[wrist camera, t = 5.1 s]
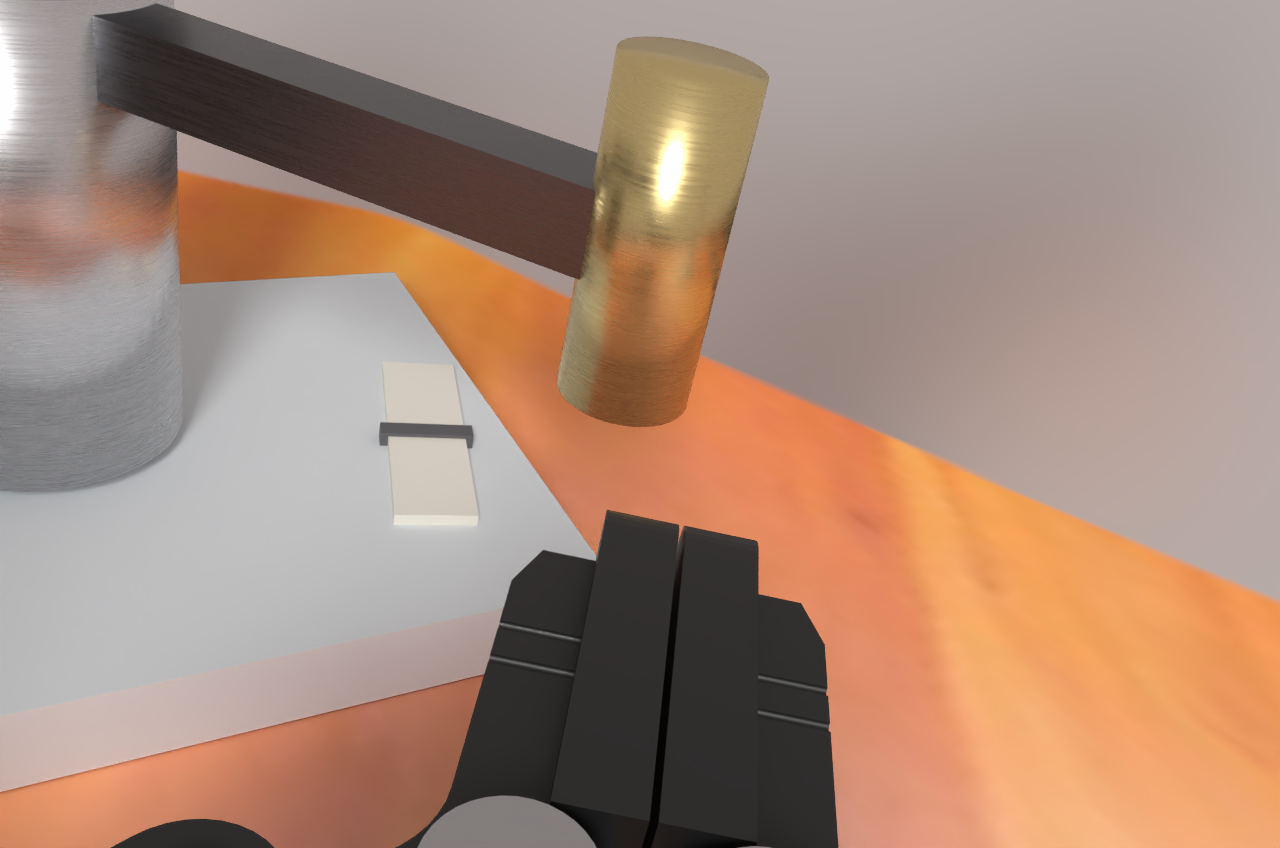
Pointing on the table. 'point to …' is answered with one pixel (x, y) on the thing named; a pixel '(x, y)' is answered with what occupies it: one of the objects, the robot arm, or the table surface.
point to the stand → (269, 537)
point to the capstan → (351, 163)
